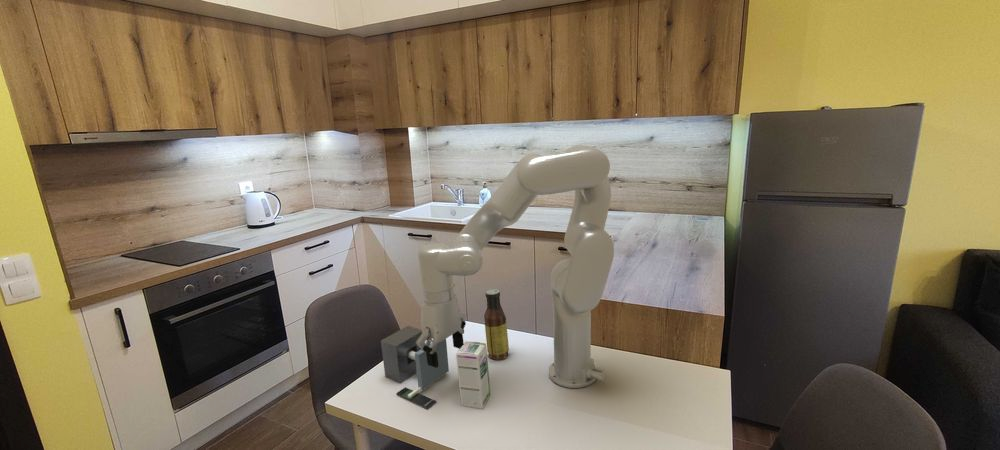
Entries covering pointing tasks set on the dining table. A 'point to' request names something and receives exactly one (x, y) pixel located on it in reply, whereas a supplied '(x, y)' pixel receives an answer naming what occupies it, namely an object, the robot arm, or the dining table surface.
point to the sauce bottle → (495, 326)
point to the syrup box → (473, 374)
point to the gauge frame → (403, 362)
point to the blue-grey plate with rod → (426, 372)
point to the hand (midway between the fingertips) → (446, 356)
